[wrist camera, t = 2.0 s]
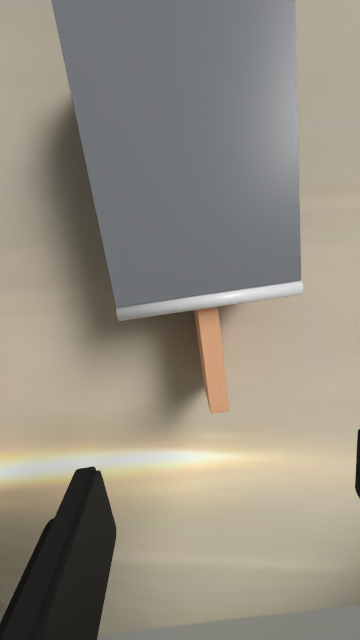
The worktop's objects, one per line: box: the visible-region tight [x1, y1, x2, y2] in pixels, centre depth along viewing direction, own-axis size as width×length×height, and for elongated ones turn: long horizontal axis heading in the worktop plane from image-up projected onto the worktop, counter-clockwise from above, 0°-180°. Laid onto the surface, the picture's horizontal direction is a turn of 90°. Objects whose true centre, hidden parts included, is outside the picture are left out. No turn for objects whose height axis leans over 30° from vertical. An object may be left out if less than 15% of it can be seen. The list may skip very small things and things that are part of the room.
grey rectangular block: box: [51, 0, 303, 321], centre depth 14 cm, size 10×15×6 cm
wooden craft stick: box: [194, 307, 229, 414], centre depth 15 cm, size 1×19×4 cm, turn 9°
